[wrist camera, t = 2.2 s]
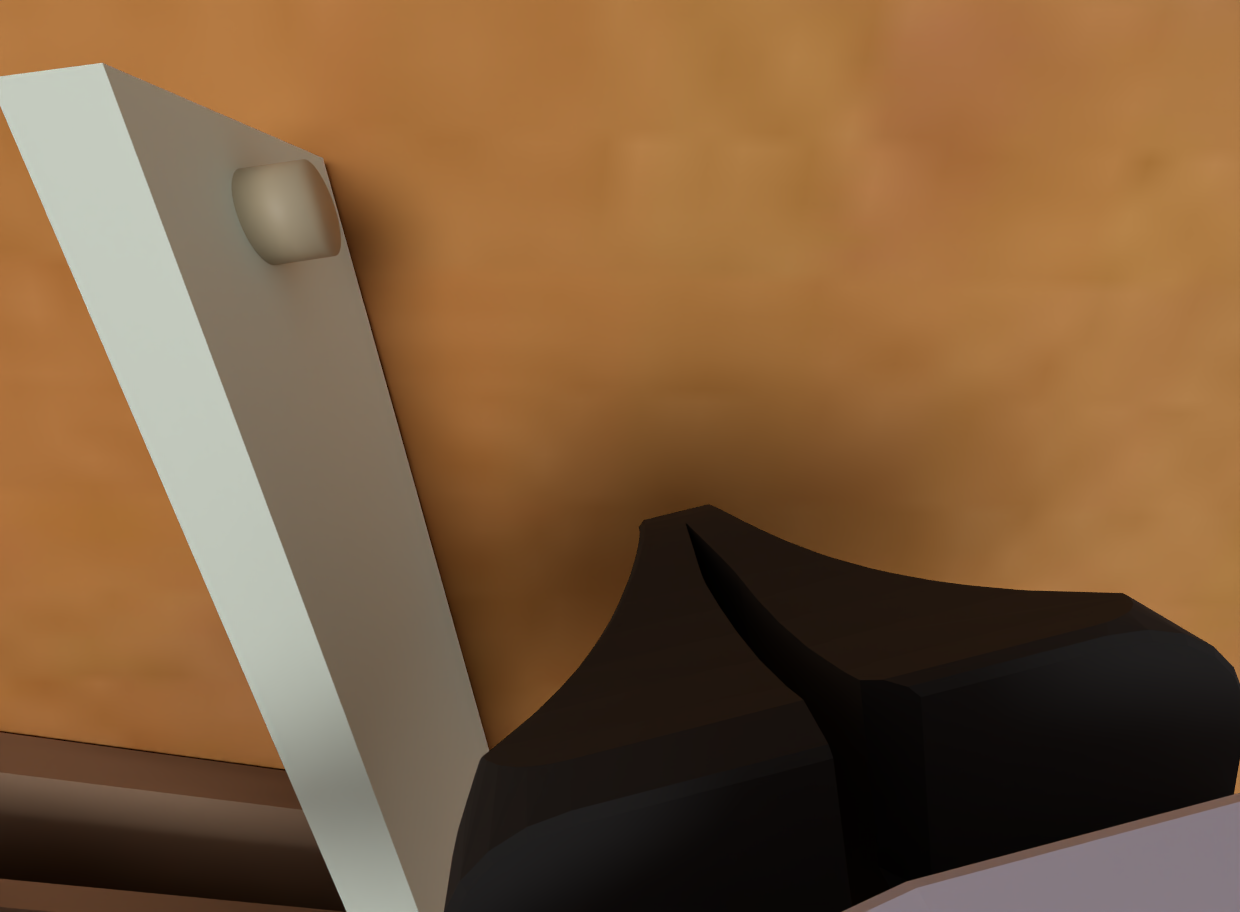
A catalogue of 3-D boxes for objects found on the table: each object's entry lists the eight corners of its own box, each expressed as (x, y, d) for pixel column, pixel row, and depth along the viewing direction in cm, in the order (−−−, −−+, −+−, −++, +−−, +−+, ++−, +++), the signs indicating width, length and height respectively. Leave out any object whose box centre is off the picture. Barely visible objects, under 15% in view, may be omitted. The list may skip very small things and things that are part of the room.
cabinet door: (459, 790, 15) (411, 1062, 10) (265, 166, 11) (-12, 78, 5) (528, 777, 15) (516, 1038, 10) (367, 151, 11) (191, 51, 5)
